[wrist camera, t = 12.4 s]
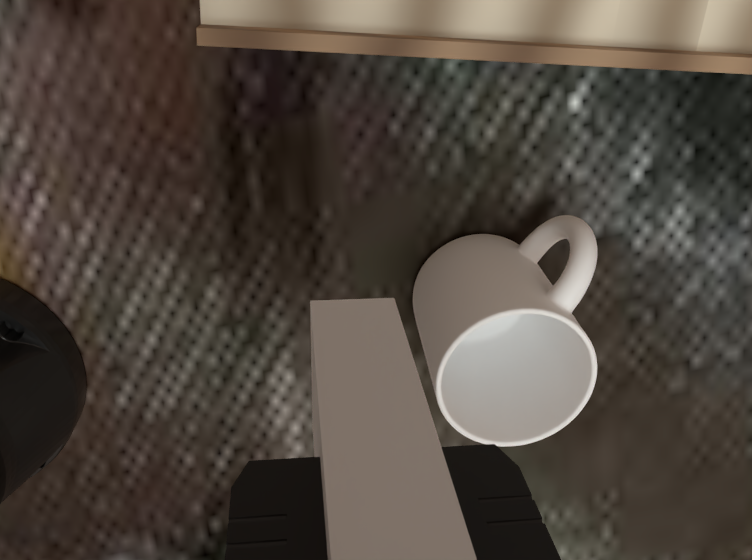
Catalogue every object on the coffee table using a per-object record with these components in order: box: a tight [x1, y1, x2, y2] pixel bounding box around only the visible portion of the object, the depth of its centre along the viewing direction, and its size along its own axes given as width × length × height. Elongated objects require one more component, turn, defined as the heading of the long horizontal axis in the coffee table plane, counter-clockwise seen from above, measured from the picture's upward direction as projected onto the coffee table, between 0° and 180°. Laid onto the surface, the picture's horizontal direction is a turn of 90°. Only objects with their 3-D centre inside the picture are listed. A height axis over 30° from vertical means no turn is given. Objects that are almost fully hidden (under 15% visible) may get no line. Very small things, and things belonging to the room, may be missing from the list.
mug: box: [413, 215, 597, 446], centre depth 40 cm, size 12×8×10 cm
